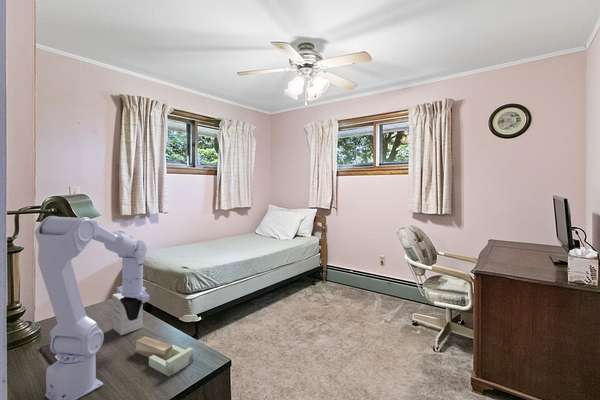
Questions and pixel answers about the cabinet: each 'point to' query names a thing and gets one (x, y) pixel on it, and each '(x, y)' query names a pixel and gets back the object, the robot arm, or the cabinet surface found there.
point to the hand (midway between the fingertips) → (132, 319)
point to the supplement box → (124, 317)
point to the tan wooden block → (153, 348)
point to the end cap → (172, 361)
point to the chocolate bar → (50, 354)
